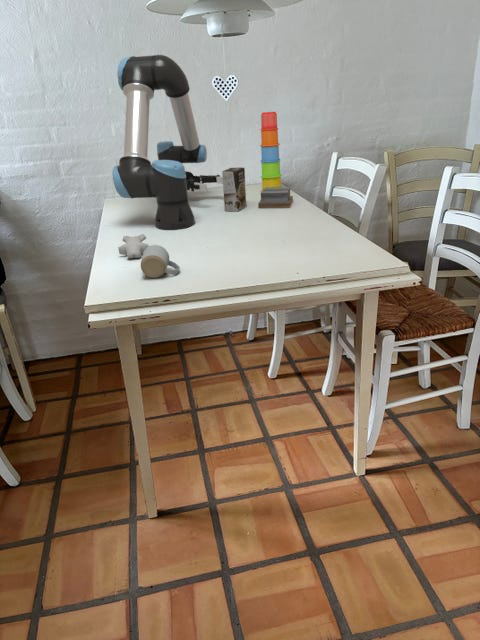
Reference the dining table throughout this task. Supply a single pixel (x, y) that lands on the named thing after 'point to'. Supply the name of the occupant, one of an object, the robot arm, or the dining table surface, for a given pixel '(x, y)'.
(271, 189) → the tower stand
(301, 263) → the dining table surface
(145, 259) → the ceramic mug
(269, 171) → the stacking cups
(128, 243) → the grey teddy bear
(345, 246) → the dining table surface
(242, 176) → the coffee box
